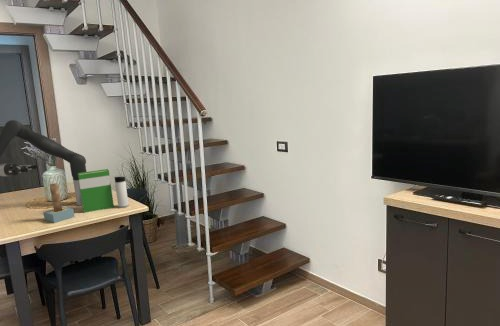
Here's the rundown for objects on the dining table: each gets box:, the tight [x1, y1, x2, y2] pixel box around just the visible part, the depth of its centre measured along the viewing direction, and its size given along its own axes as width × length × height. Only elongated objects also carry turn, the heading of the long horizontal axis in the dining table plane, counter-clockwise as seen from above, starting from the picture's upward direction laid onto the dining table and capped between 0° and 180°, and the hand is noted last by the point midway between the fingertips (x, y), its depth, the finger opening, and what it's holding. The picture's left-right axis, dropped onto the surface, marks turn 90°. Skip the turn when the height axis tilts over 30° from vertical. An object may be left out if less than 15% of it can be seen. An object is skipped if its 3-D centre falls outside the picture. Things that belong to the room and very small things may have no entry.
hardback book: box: [78, 168, 115, 214], centre depth 235 cm, size 18×7×24 cm, turn 116°
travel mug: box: [114, 176, 130, 209], centre depth 236 cm, size 6×7×20 cm
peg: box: [49, 183, 63, 212], centre depth 220 cm, size 4×4×20 cm
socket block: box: [43, 205, 75, 224], centre depth 221 cm, size 12×12×5 cm
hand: (32, 168), depth 222 cm, fingers open, 8 cm apart
